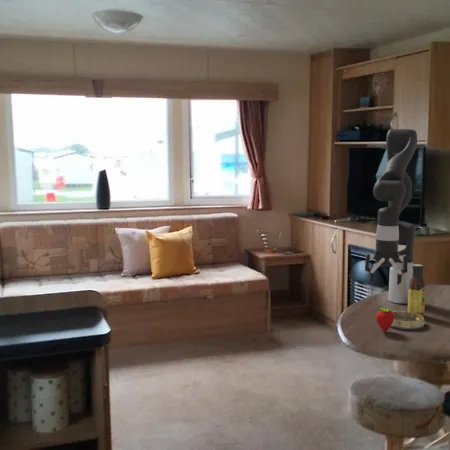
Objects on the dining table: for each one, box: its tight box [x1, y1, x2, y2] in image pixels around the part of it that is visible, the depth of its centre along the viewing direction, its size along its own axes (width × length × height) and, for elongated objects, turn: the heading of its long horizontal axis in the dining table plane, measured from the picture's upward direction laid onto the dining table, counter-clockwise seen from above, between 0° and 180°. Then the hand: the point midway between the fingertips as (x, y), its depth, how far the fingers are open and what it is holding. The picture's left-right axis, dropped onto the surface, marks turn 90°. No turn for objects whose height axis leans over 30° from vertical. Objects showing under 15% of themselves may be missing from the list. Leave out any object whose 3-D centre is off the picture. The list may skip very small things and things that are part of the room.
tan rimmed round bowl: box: [390, 310, 425, 331], centre depth 217 cm, size 15×15×3 cm
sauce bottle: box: [407, 263, 426, 317], centre depth 227 cm, size 7×6×20 cm
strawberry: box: [375, 303, 394, 333], centre depth 207 cm, size 6×8×10 cm
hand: (385, 283), depth 206 cm, fingers open, 8 cm apart
